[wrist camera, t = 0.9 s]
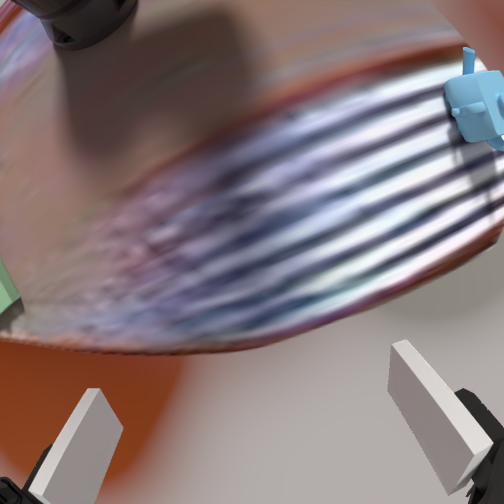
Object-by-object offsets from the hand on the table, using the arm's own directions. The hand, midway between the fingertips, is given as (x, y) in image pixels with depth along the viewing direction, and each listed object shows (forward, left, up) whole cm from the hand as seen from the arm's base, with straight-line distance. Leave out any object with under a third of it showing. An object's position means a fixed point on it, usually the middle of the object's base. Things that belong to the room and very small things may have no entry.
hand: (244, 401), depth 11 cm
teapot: (-3, +42, -27) cm, 50 cm away
